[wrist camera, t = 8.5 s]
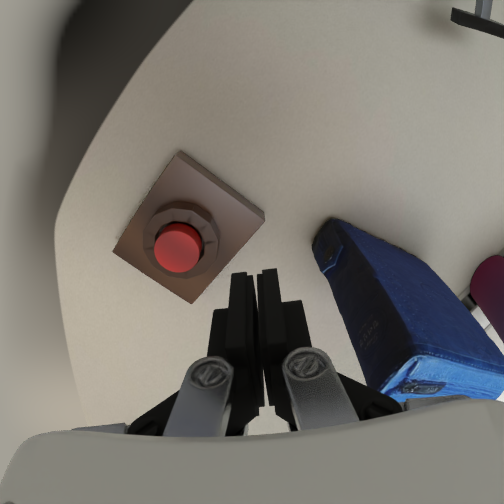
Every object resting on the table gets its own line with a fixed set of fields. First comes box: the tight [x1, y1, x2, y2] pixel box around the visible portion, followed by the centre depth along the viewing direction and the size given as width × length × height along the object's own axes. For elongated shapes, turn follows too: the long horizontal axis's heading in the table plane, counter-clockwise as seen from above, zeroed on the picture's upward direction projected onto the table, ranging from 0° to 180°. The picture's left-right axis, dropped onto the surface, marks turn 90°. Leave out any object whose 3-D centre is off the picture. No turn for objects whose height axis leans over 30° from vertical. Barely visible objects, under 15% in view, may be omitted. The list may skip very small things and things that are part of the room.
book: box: [312, 219, 504, 402], centre depth 25 cm, size 14×5×20 cm, turn 67°
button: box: [154, 223, 202, 272], centre depth 28 cm, size 4×4×2 cm
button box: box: [112, 151, 265, 304], centre depth 30 cm, size 12×10×4 cm
